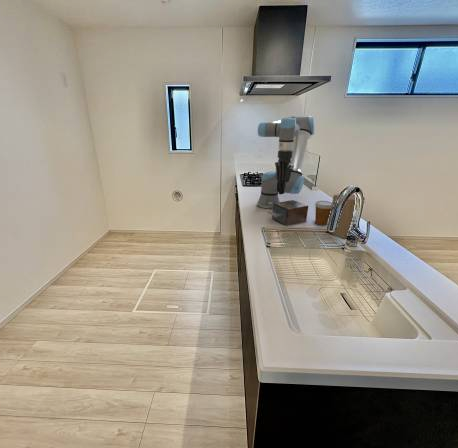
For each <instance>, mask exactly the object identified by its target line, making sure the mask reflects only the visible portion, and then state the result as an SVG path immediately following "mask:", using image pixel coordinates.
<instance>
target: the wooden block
mask: <svg viewBox="0 0 458 448" xmlns="http://www.w3.org/2000/svg"><path fill="white" fill-rule="evenodd" d="M339 194H340V193H338V194H337V193H336V194H333V197H332V202H331V203H332V207H331V210H332V208H333V205H334V204H335V201H336V199H337V198H338V196H339ZM352 194H353V195H351V196H350V198H349V199H348V200H347V202H346V204H345V205H344V207H343V209H342V212H341V215H340V218H339V221H338V227H337V230H336V231H334V232H329V231H328V230H327V229H326V232H328V233H330V234H332V235H334V236H336V237H339V238H341V239H347V238H348V237H347V233H348V230H349V228H350V225H351V222H352V218H353V211H354V205H355V195H356V194H354V193H352ZM362 197H363V200H364V201H363V205H364V203H365V200H366V198H365V197H366V196H362Z"/></svg>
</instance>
